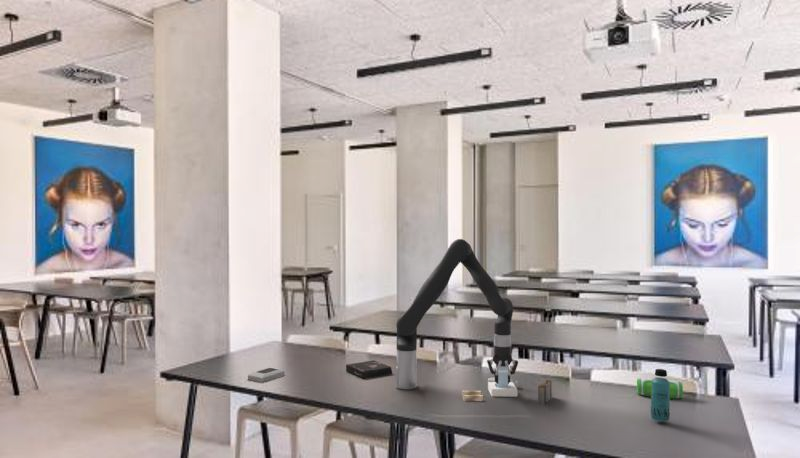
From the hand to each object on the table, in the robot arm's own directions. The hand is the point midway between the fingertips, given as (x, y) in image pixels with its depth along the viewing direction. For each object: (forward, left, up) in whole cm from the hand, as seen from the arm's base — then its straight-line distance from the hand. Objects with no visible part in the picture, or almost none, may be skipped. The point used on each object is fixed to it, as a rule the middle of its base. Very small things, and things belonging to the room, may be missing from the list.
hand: (502, 383), depth 246 cm
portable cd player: (-61, +35, -6) cm, 71 cm away
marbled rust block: (+17, -7, -6) cm, 19 cm away
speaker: (+68, -1, -5) cm, 68 cm away
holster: (-14, -8, -5) cm, 17 cm away
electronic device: (+2, +14, -6) cm, 16 cm away
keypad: (-110, +25, -6) cm, 113 cm away
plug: (0, 0, -2) cm, 2 cm away
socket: (0, 0, -5) cm, 5 cm away
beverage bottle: (+54, -33, -5) cm, 63 cm away
